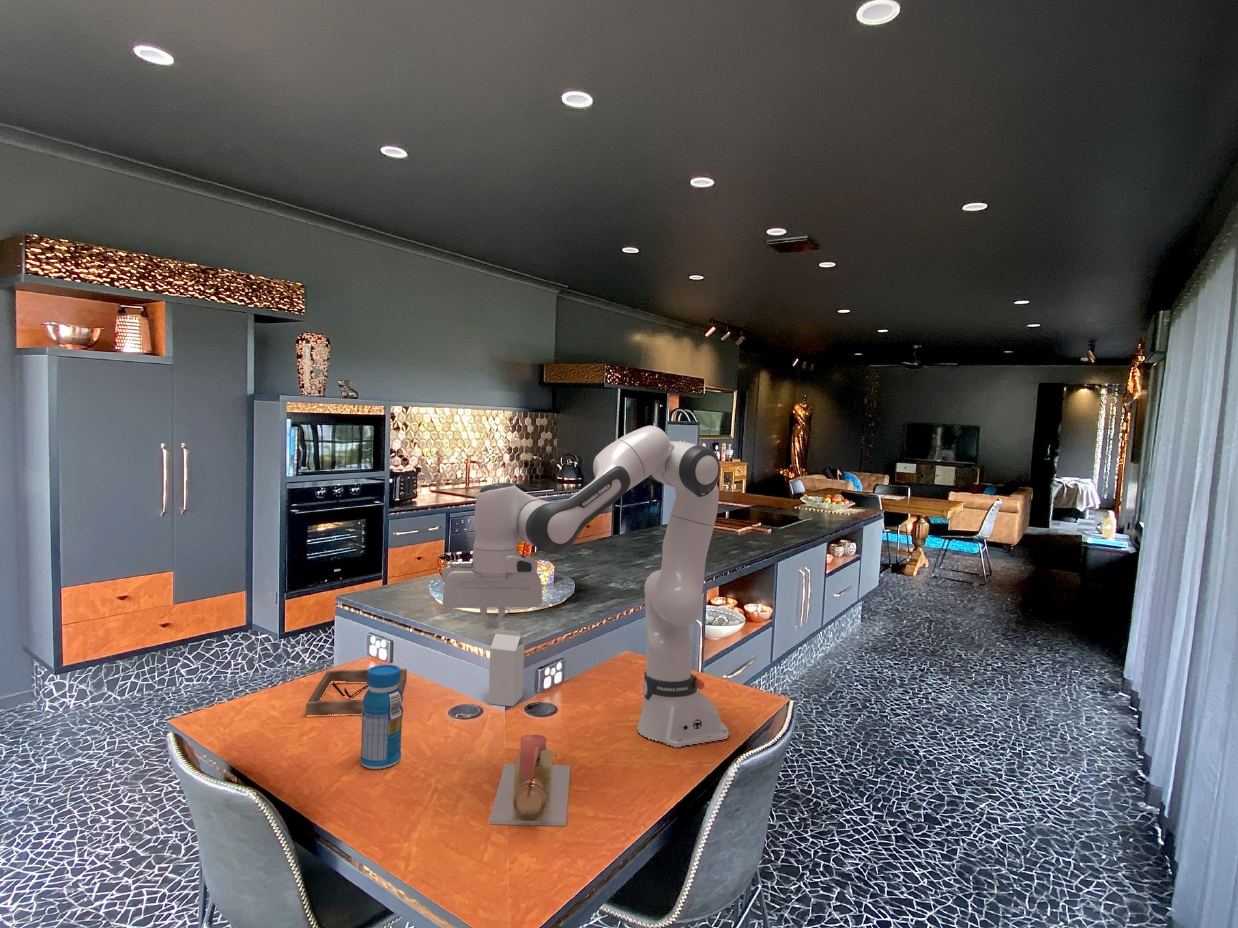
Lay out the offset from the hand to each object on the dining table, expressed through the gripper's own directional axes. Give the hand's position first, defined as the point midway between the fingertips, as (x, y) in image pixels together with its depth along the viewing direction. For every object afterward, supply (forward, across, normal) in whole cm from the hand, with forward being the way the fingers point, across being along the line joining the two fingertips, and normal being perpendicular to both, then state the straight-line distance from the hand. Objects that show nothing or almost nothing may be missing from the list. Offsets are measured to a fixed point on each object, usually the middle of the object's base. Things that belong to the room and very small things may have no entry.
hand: (491, 628), depth 139 cm
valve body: (+31, +9, -8) cm, 33 cm away
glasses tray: (+31, -32, +48) cm, 66 cm away
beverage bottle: (+31, -22, +10) cm, 40 cm away
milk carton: (+31, +6, +42) cm, 53 cm away
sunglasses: (+32, -31, +49) cm, 66 cm away
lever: (+22, +8, -13) cm, 27 cm away
